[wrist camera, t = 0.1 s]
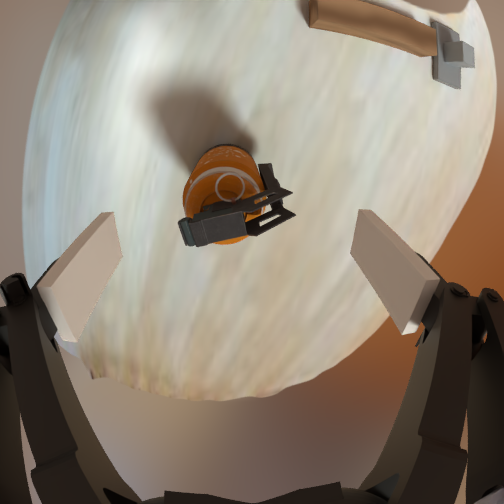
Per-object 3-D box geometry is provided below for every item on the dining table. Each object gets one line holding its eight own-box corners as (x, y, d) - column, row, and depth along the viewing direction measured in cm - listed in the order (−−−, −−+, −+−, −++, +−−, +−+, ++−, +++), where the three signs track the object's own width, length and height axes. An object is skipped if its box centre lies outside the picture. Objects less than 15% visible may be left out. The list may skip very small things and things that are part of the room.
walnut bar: (308, 1, 27) (317, -10, 23) (418, 33, 28) (435, 29, 24) (308, 28, 29) (318, 19, 25) (419, 57, 31) (437, 55, 26)
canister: (189, 151, 38) (154, 194, 21) (264, 134, 38) (292, 162, 20) (205, 206, 43) (187, 284, 25) (275, 191, 42) (306, 259, 25)
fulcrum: (431, 22, 26) (454, 17, 21) (454, 34, 27) (477, 32, 21) (433, 79, 32) (457, 80, 27) (455, 88, 33) (479, 91, 27)
